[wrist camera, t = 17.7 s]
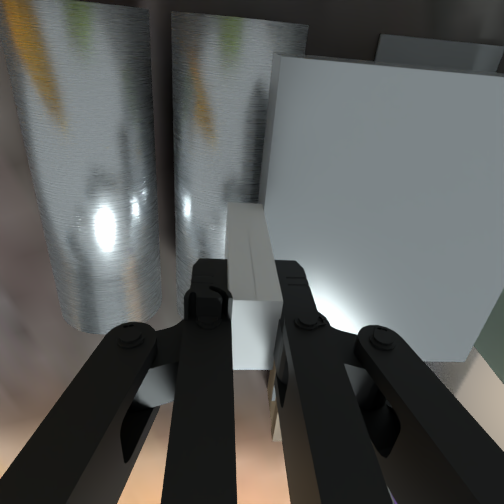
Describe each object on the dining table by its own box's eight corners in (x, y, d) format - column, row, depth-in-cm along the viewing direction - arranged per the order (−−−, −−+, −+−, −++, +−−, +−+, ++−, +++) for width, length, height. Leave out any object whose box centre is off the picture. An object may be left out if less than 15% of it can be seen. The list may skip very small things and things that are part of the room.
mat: (324, 281, 28) (324, 282, 28) (380, 33, 20) (381, 33, 20) (413, 283, 29) (414, 285, 29) (503, 46, 21) (505, 46, 20)
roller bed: (79, 272, 26) (45, 333, 21) (30, -2, 18) (-45, -12, 13) (264, 279, 28) (273, 337, 23) (296, 25, 19) (322, 26, 14)
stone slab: (244, 327, 22) (247, 359, 20) (273, 51, 14) (281, 56, 12) (442, 331, 23) (464, 361, 21) (559, 78, 16) (610, 87, 14)
